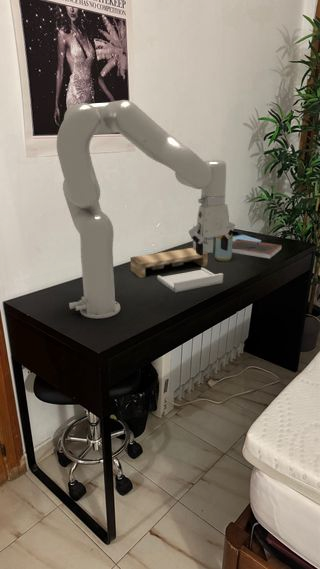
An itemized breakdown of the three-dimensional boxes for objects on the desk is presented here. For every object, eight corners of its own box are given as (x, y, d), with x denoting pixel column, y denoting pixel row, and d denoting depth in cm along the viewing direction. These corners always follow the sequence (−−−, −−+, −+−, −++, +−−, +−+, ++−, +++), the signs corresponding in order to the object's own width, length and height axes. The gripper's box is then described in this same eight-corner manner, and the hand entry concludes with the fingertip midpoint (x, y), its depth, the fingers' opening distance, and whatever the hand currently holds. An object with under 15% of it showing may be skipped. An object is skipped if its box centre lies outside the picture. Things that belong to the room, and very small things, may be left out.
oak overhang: (140, 277, 157) (140, 264, 155) (130, 270, 165) (130, 257, 163) (207, 266, 169) (207, 253, 167) (195, 259, 177) (195, 247, 175)
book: (223, 252, 189) (269, 259, 178) (223, 246, 188) (270, 254, 177) (237, 243, 202) (281, 250, 191) (237, 238, 201) (281, 244, 190)
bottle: (229, 262, 173) (231, 227, 168) (213, 260, 175) (215, 226, 170) (232, 257, 179) (234, 223, 174) (216, 256, 182) (218, 222, 176)
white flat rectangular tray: (175, 292, 143) (175, 283, 142) (157, 279, 155) (157, 270, 154) (222, 282, 152) (223, 274, 150) (202, 271, 163) (202, 263, 162)
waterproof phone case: (262, 243, 203) (262, 240, 202) (244, 246, 197) (244, 244, 196) (242, 236, 213) (242, 234, 213) (225, 240, 207) (225, 238, 207)
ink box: (192, 247, 193) (192, 223, 189) (210, 247, 194) (211, 222, 189) (194, 253, 185) (195, 227, 181) (213, 253, 186) (214, 227, 181)
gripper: (195, 205, 124) (195, 259, 131) (242, 199, 131) (239, 250, 138) (183, 201, 130) (183, 253, 137) (228, 196, 137) (226, 245, 144)
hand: (211, 252), depth 137 cm, fingers open, 9 cm apart
